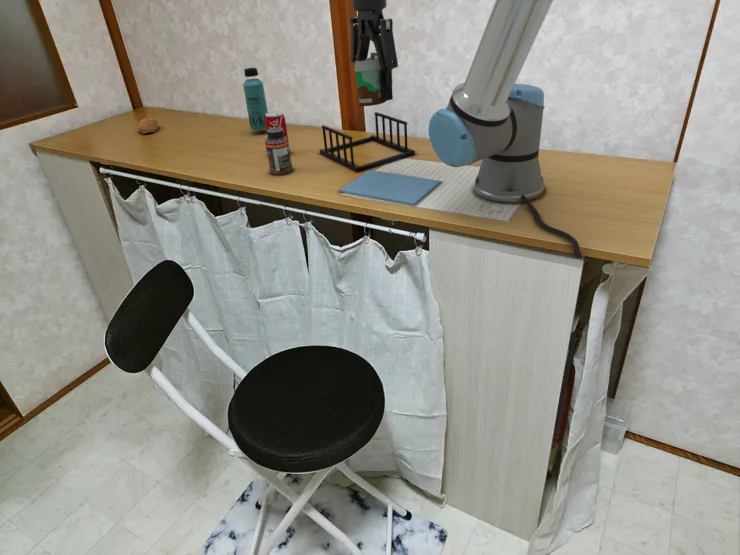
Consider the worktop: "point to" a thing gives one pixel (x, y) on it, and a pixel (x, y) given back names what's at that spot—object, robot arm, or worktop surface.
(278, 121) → the soda can
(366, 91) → the food container
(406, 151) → the dish rack
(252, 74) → the beverage bottle
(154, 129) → the pastry
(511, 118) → the robot arm
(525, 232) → the worktop surface
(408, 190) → the drying mat
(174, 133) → the worktop surface
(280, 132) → the supplement bottle
